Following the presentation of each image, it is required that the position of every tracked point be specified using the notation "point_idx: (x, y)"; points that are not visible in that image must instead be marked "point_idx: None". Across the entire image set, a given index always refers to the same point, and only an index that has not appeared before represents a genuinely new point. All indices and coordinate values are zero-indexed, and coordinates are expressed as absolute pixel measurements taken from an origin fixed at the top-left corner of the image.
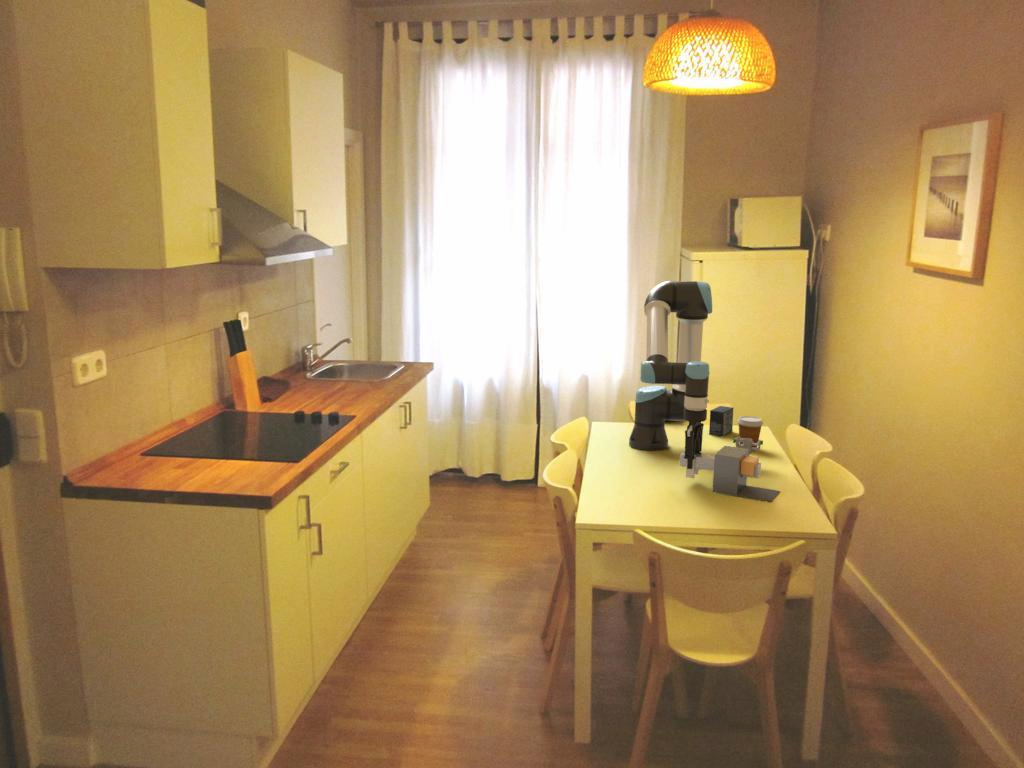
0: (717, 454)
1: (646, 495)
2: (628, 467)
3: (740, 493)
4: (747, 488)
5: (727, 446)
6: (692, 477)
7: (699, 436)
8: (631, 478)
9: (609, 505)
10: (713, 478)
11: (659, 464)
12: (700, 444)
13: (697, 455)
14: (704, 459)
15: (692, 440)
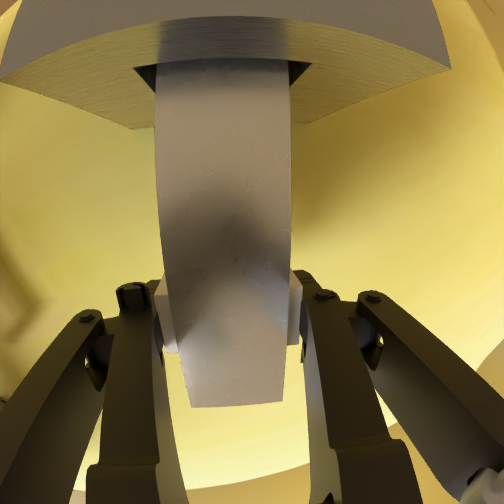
0: (442, 42)
1: (424, 320)
2: (194, 450)
3: None
4: None
5: (20, 39)
6: None
7: (158, 478)
8: (291, 419)
9: (478, 338)
10: (338, 108)
11: None
12: (77, 358)
13: (237, 296)
14: (287, 201)
15: (497, 398)
